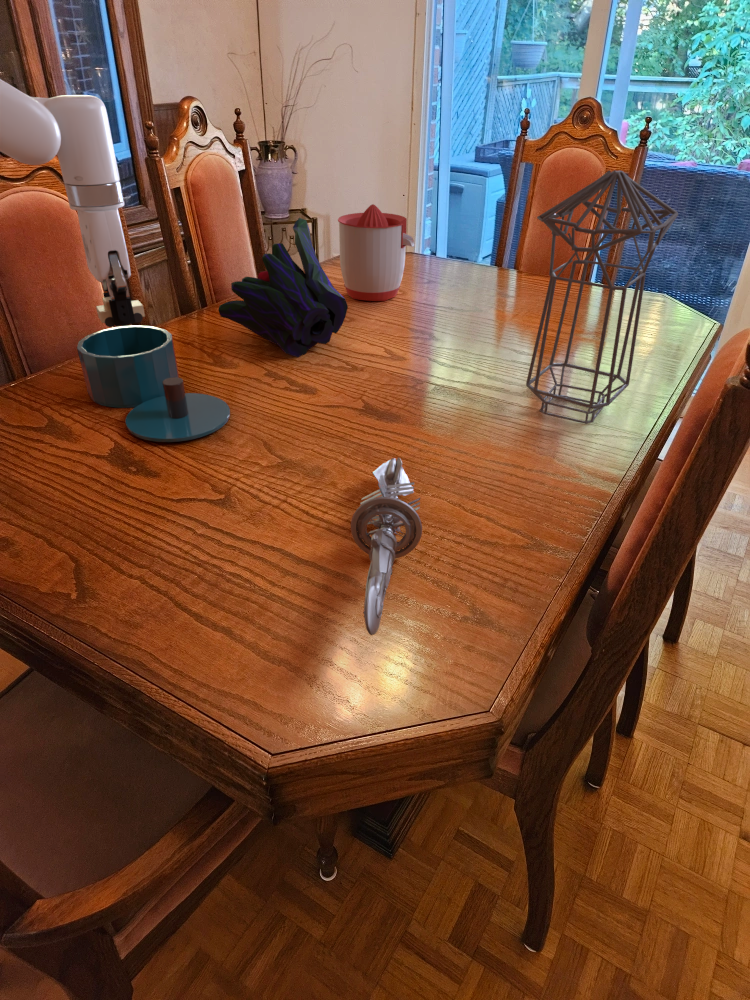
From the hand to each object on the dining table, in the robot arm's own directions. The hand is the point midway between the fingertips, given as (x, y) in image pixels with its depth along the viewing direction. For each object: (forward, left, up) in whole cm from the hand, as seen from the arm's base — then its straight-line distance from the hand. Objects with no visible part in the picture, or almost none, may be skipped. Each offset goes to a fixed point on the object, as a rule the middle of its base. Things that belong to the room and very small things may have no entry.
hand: (121, 319), depth 106 cm
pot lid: (+7, -14, -11) cm, 19 cm away
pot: (0, 0, -12) cm, 12 cm away
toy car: (0, 0, 0) cm, 0 cm away
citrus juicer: (+53, +42, -12) cm, 69 cm away
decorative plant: (+28, +19, -12) cm, 36 cm away
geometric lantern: (+68, -25, -12) cm, 73 cm away
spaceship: (+29, -54, -12) cm, 63 cm away
